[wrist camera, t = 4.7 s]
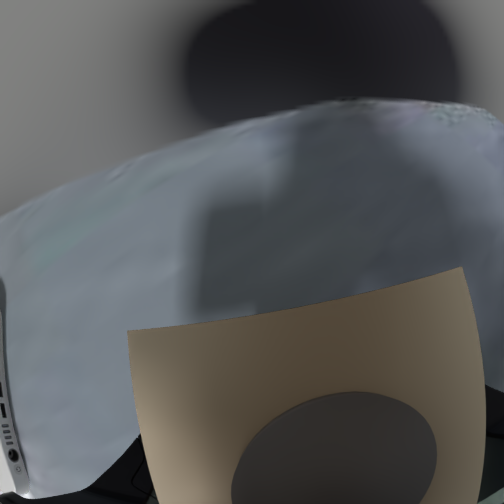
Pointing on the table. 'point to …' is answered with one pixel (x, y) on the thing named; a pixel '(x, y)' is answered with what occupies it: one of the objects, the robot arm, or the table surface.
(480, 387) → the bore block
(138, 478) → the robot arm
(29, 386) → the table surface
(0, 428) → the computer
